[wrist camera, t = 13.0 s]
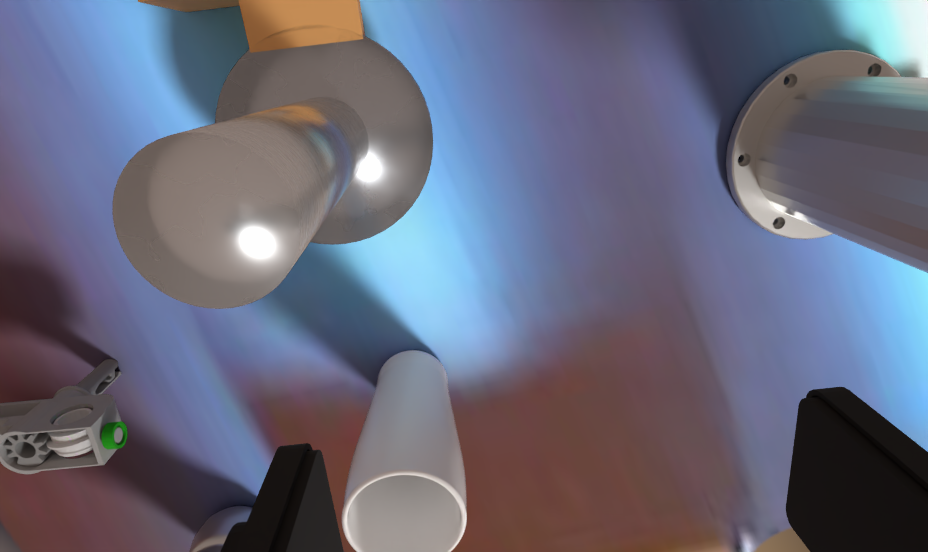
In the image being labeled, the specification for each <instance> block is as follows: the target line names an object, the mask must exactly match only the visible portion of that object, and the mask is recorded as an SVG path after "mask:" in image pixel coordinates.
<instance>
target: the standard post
mask: <svg viewBox="0 0 928 552" xmlns="http://www.w3.org/2000/svg"><path fill="white" fill-rule="evenodd" d="M320 26H323V25H320ZM325 26H326V25H325ZM304 27H306V26H304ZM313 27H316V26H313ZM334 27H335V26H334ZM299 28H301V27H300V26H299ZM318 28H320V27H319V26H318ZM321 28H322V27H321ZM321 28H320V29H321ZM288 29H289V28H288ZM288 29H287V31H288ZM292 29H293V30H294V27H293V28H292ZM301 29H302V28H301ZM303 29H304V28H303ZM303 29H302V30H303ZM308 29H309V27H308ZM312 29H313V28H312ZM325 29H326V27H325ZM337 29H338V28H337ZM290 30H291V29H290ZM298 30H299V29H298ZM298 30H296V31H298ZM304 30H305V29H304ZM283 31H284V30H283ZM299 31H300V30H299ZM321 31H323V30H321ZM348 31H349V30H348ZM285 32H286V31H285ZM311 32H312V31H311ZM282 33H284V32H282ZM289 33H290V31H289ZM297 33H298V32H297ZM304 33H305V31H304ZM275 34H276V33H275ZM278 34H280V33H279V32H278ZM324 34H326V33H324ZM349 34H350V33H349ZM353 34H354V33H353ZM272 35H273V34H272ZM276 35H277V34H276ZM296 35H297V34H296ZM326 35H327V34H326ZM351 35H352V34H351ZM351 35H350V36H351ZM356 35H357V34H356ZM358 35H359V34H358ZM270 36H271V35H270ZM273 36H275V35H273ZM312 36H313V35H312ZM341 36H342V35H341ZM354 36H355V35H354ZM289 37H290V36H289ZM335 37H336V36H335ZM351 37H352V36H351ZM268 38H270V37H268ZM272 38H273V37H272ZM280 38H281V37H280ZM345 38H346V37H345ZM348 38H349V37H348ZM354 38H355V37H354ZM354 38H353V37H352V39H354ZM300 39H301V38H300ZM305 39H306V38H305ZM316 39H317V38H316ZM339 39H340V38H339ZM350 39H351V38H350ZM285 40H286V39H285ZM296 41H297V40H296ZM312 41H313V40H312ZM312 41H311V43H312ZM260 42H262V41H260ZM275 42H276V41H275ZM275 42H274V43H275ZM318 42H319V41H318ZM325 42H326V41H325ZM329 42H330V41H329ZM276 43H277V42H276ZM297 43H298V42H297ZM316 43H317V42H316ZM268 45H269V44H268ZM271 45H272V44H271ZM295 45H296V44H295ZM272 46H273V45H272ZM255 47H256V46H255ZM285 47H286V46H285ZM292 47H293V46H292ZM262 48H263V47H262ZM267 49H268V48H267ZM251 52H252V51H251ZM432 151H433V134H432V124H431V119H430V113H429V110H428V107H427V104H426V101H425V98H424V96H423V94H422V92H421V90H420V88H419V86H418V84H417V83H416V81H415V80H414V78H413V76H412V75H411V73H410V72H409V71H408V70H407V69H406V67H405V66H404V65H403V64H402V63H401V62H400V61H399V60H398V59H397V58H396V57H395V56H394V55H393V54H392V53H391V52H390V51H388V50H387V49H385V48H384V47H383V46H381V45H380V44H378V43H377V42H375V41H373V40H371V39H369V38H367V37H366V36H363V39H360V40H359V39H358V40H352V41H348V40H347V41H344V42H341V41H340V42H336V43H335V42H334V43H327V44H319V45H317V44H316V45H311V46H302V47H294V48H286V49H278V50H269V51H263V50H262V51H261V52H253V53H250V49H249V50H248V51H247V52H246V53H245V54H244V55H243V56H242V57H241V58H240V59H239V60H238V61H237V63H236V64H235V66H234V67H233V68H232V70H231V71H230V73H229V75H228V77H227V79H226V80H225V82H224V84H223V87H222V90H221V93H220V96H219V99H218V104H217V109H216V118H215V124H211V125H208V126H204V127H200V128H196V129H192V130H189V131H185V132H181V133H177V134H173V135H170V136H167V137H164V138H161V139H158V140H156V141H154V142H152V143H150V144H149V145H147V146H146V147H144V148H143V149H141V150H140V151H139V152H138V153H137V154H136V155H135V156H134V157H133V158H132V159H131V160H130V161H129V162H128V163H127V165H126V166H125V168H124V169H123V171H122V173H121V175H120V177H119V179H118V181H117V185H116V188H115V191H114V197H113V220H114V227H115V230H116V234H117V237H118V240H119V242H120V245H121V247H122V249H123V251H124V253H125V254H126V256H127V258H128V259H129V261H130V262H131V264H132V265H133V266H134V268H135V269H136V270H137V271H138V272H139V273H140V274H141V275H142V276H143V278H145V279H146V280H147V281H148V282H149V283H150V284H152V285H153V286H154V287H156V288H157V289H158V290H160V291H161V292H163V293H165V294H167V295H168V296H170V297H172V298H174V299H176V300H179V301H181V302H184V303H187V304H190V305H194V306H198V307H204V308H215V309H223V308H233V307H239V306H243V305H246V304H249V303H252V302H254V301H256V300H259V299H261V298H263V297H264V296H266V295H267V294H269V293H270V292H271V291H273V290H274V289H275V288H276V287H277V286H278V285H279V284H280V283H281V282H282V281H283V280H284V278H285V277H286V276H287V274H288V273H289V271H290V270H291V269H292V267H293V266H294V264H295V263H296V261H297V260H298V258H299V257H300V256H301V254H302V253H303V251H304V250H305V248H306V247H307V245H308V244H309V243H310V242H313V243H318V244H346V243H351V242H357V241H360V240H363V239H367V238H370V237H372V236H374V235H376V234H378V233H380V232H382V231H384V230H386V229H387V228H389V227H390V226H392V225H393V224H394V223H396V222H397V221H398V220H399V219H400V218H401V217H403V216H404V214H405V213H406V212H407V211H408V210H409V209H410V208H411V207H412V205H413V204H414V202H415V201H416V199H417V198H418V196H419V195H420V193H421V191H422V189H423V186H424V184H425V182H426V179H427V176H428V173H429V170H430V165H431V160H432Z"/></svg>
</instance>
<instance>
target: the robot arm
mask: <svg viewBox="0 0 928 552" xmlns="http://www.w3.org/2000/svg"><path fill="white" fill-rule="evenodd" d="M784 79H786V81H785V83H784ZM740 156H741V158H740V160H739V161H738V158H739V157H740ZM726 170H727V180H728V183H729V187H730V190H731V193H732V196H733V198H734V200H735V201H736V203H737V205H738V207H739V208H740V210H741V211H742V212H743V213H744V214H745V215H746V216H747V217H748V218H749V219H750V220H751V221H752V222H754V223H755V224H757V225H758V226H760V227H761V228H763V229H765V230H767V231H769V232H771V233H773V234H776V235H779V236H783V237H787V238H791V239H814V238H822V237H826V236H829V235H832V234H835V235H838V236H840V237H843V238H845V239H847V240H850V241H852V242H855V243H857V244H859V245H862V246H864V247H867V248H869V249H871V250H874V251H876V252H879V253H881V254H883V255H886V256H888V257H891V258H893V259H895V260H898V261H900V262H903V263H905V264H907V265H910V266H912V267H915V268H917V269H919V270H922V271H924V272H927V273H928V78H919V77H901V75H900V74H899V73H898V71H897V70H895V69H894V68H893V67H892V66H891V65H889V64H888V63H887V62H886V61H884V60H882V59H880V58H878V57H876V56H874V55H872V54H869V53H865V52H860V51H855V50H831V51H823V52H816V53H813V54H810V55H807V56H804V57H801V58H798V59H796V60H794V61H792V62H791V63H789V64H787V65H785V66H783V67H781V68H780V69H779V70H777V71H776V72H775V73H773V74H772V75H771V76H770V77H768V78H767V79H766V80H765V81H764V82H763V83H762V84H761V85H760V86H759V87H758V88H757V89H756V90H755V91H754V92H753V94H752V95H751V96H750V98H749V99H748V101H747V102H746V104H745V105H744V107H743V108H742V109H741V111H740V113H739V115H738V117H737V120H736V122H735V124H734V126H733V128H732V132H731V135H730V139H729V143H728V147H727V158H726ZM786 513H787V517H788V521H789V523H790V525H791V527H792V528H793V530H794V531H795V532H796V533H797V535H798V536H799V537H800V539H801V540H802V541H803V542H804V544H805V545H806V547H807V548H808V549H809V550H810V552H928V452H927V451H926V450H924V449H923V448H922V447H921V446H919V445H918V444H917V443H916V442H914V441H913V440H912V439H910V438H909V437H908V436H907V435H905V434H904V433H903V432H902V431H900V430H899V429H898V428H896V427H895V426H894V425H893V424H891V423H890V422H889V421H888V420H886V419H885V418H884V417H883V416H881V415H880V414H879V413H877V412H876V411H875V410H874V409H872V408H871V407H870V406H869V405H867V404H866V403H865V402H863V401H862V400H861V399H860V398H858V397H857V396H856V395H855V394H853V393H852V392H851V391H850V390H848V389H846V388H844V387H834V388H825V389H815V390H811V391H809V393H808V394H807V396H806V398H804V399H802V400H801V401H800V403H799V408H798V416H797V424H796V432H795V439H794V447H793V455H792V463H791V471H790V479H789V487H788V495H787V503H786ZM220 552H344V551H343V547H342V542H341V538H340V533H339V528H338V524H337V519H336V515H335V510H334V505H333V501H332V496H331V492H330V487H329V482H328V478H327V473H326V469H325V464H324V460H323V455H322V452H321V451H320V450H312V447H311V445H310V444H308V443H306V444H297V445H287V446H280V447H278V449H277V451H276V453H275V455H274V458H273V460H272V463H271V465H270V467H269V470H268V472H267V475H266V477H265V479H264V482H263V484H262V486H261V489H260V491H259V494H258V496H257V498H256V501H255V503H254V506H253V508H252V510H251V513H250V515H249V518H248V520H247V522H238V523H236V524H235V525H233V526H232V528H231V530H230V531H229V533H228V535H227V538H226V540H225V542H224V544H223V547H222V549H221V551H220Z"/></svg>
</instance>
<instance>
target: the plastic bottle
mask: <svg viewBox="0 0 928 552" xmlns="http://www.w3.org/2000/svg"><path fill="white" fill-rule="evenodd" d="M251 510H252V507H247V506H234V507H229V508H226V509H224V510H221V511H219V512H217V513H215V514H213V515H212V516H211V517H210V518H208V519H207V520H206V522H205V523H204V524H203V526H202V527H201V528H200V530H199V531H198V532H197V534H196V535H195V537H194V539H193V542H192V545H191V548H190V551H189V552H220V551H221V549H222V547H223V544H224V542H225V540H226V538H227V535H228V533H229V531H230V530H231V528H232V526H233V525H235V524H236V523H238V522H247V520H248V518H249V515H250V513H251Z"/></svg>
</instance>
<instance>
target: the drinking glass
mask: <svg viewBox="0 0 928 552" xmlns="http://www.w3.org/2000/svg"><path fill="white" fill-rule="evenodd" d="M466 512H467V506H466V480H465V471H464V463H463V457H462V452H461V447H460V442H459V438H458V433H457V429H456V424H455V419H454V415H453V410H452V405H451V400H450V395H449V390H448V378H447V373H446V371H445V369H444V367H443V365H442V364H441V363H440V361H439V360H438V359H436V358H435V357H434V356H432V355H430V354H428V353H426V352H423V351H418V350H408V351H403V352H400V353H397V354H395V355H394V356H392V357H391V358H389V359H388V360H387V361H386V362H385V363H384V365H383V366H382V368H381V370H380V372H379V375H378V379H377V385H376V389H375V392H374V395H373V398H372V401H371V404H370V407H369V410H368V413H367V416H366V419H365V422H364V425H363V428H362V430H361V433H360V436H359V439H358V442H357V445H356V448H355V451H354V454H353V458H352V462H351V465H350V469H349V474H348V479H347V484H346V490H345V497H344V505H343V512H342V527H343V531H344V534H345V536H346V538H347V540H348V542H349V543H350V545H351V546H352V547H353V548H354V549H355V550H356V551H357V552H451V551H452V550H453V549H454V548H455V547H456V545H457V544H458V543H459V541H460V540H461V538H462V536H463V534H464V531H465V527H466V521H467V513H466Z"/></svg>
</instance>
